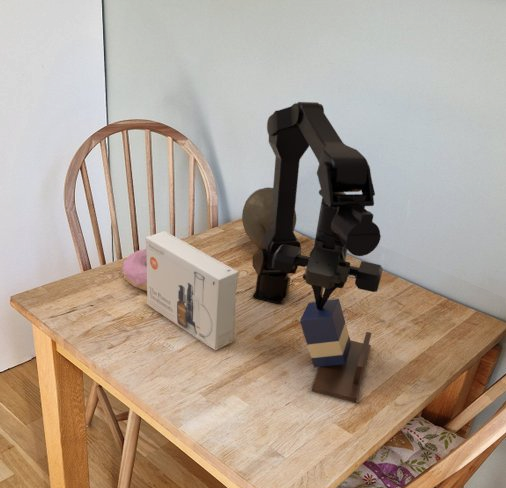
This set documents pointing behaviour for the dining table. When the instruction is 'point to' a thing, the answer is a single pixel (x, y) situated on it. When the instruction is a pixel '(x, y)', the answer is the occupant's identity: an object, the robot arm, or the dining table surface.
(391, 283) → the dining table surface
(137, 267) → the donut
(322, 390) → the walnut stand
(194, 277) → the skincare box
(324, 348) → the tea box
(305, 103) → the robot arm
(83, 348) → the dining table surface
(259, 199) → the cantaloupe
